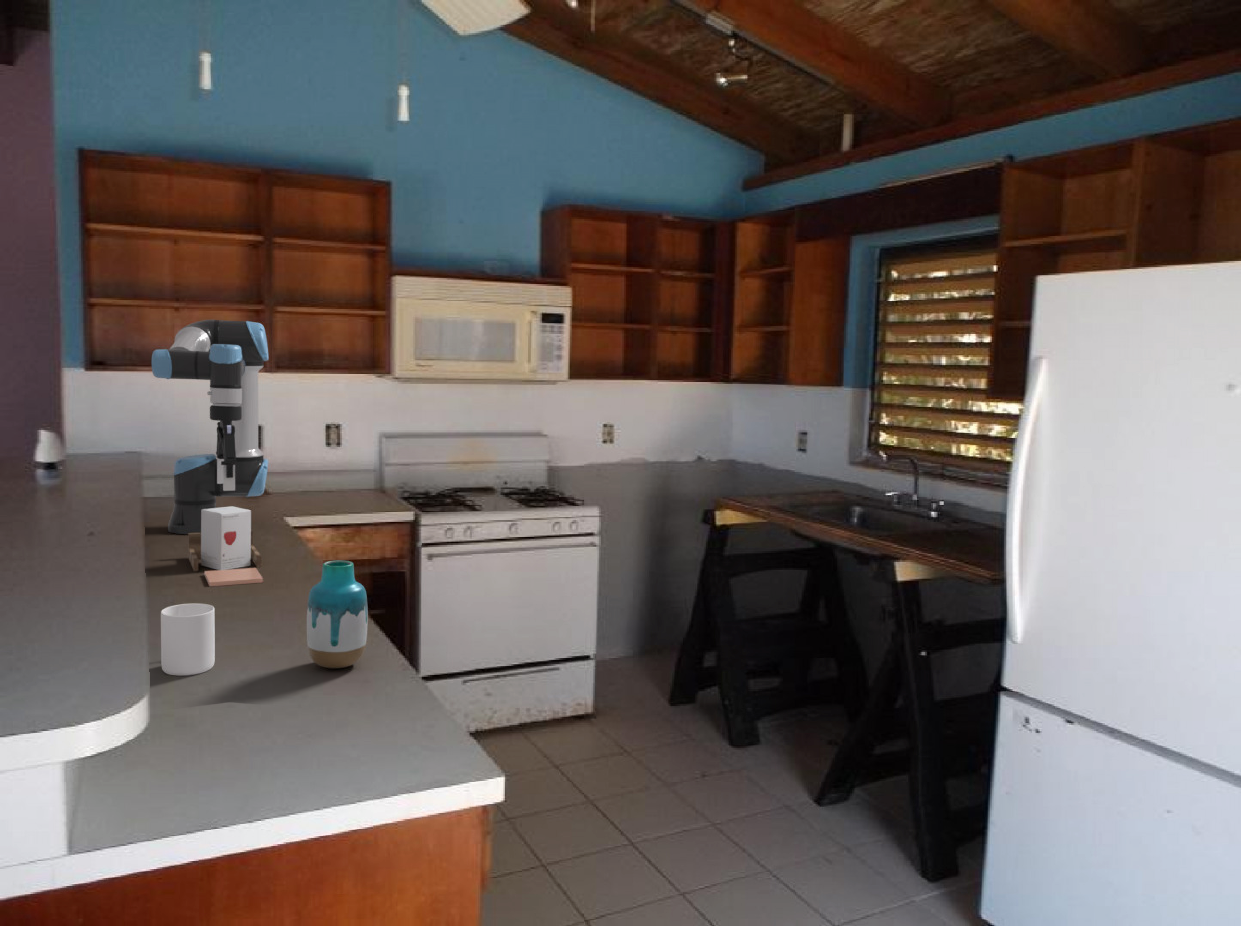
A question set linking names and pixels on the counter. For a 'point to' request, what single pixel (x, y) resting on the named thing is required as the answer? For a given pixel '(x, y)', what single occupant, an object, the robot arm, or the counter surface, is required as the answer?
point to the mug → (187, 639)
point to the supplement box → (225, 538)
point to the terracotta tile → (233, 577)
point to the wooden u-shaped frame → (195, 550)
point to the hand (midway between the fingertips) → (225, 487)
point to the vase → (337, 617)
